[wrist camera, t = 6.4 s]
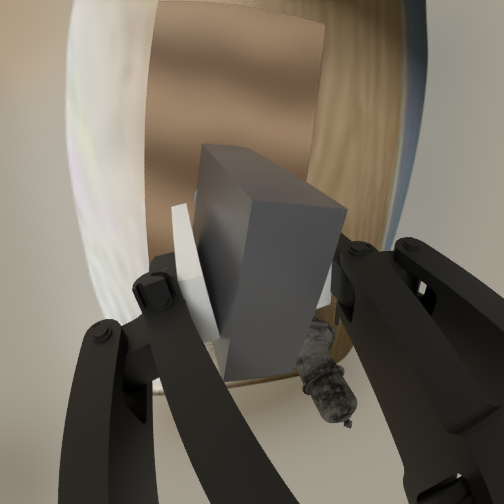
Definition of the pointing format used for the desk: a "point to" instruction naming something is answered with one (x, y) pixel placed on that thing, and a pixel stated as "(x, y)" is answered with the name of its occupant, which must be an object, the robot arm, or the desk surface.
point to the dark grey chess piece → (324, 375)
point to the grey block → (261, 257)
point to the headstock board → (224, 97)
